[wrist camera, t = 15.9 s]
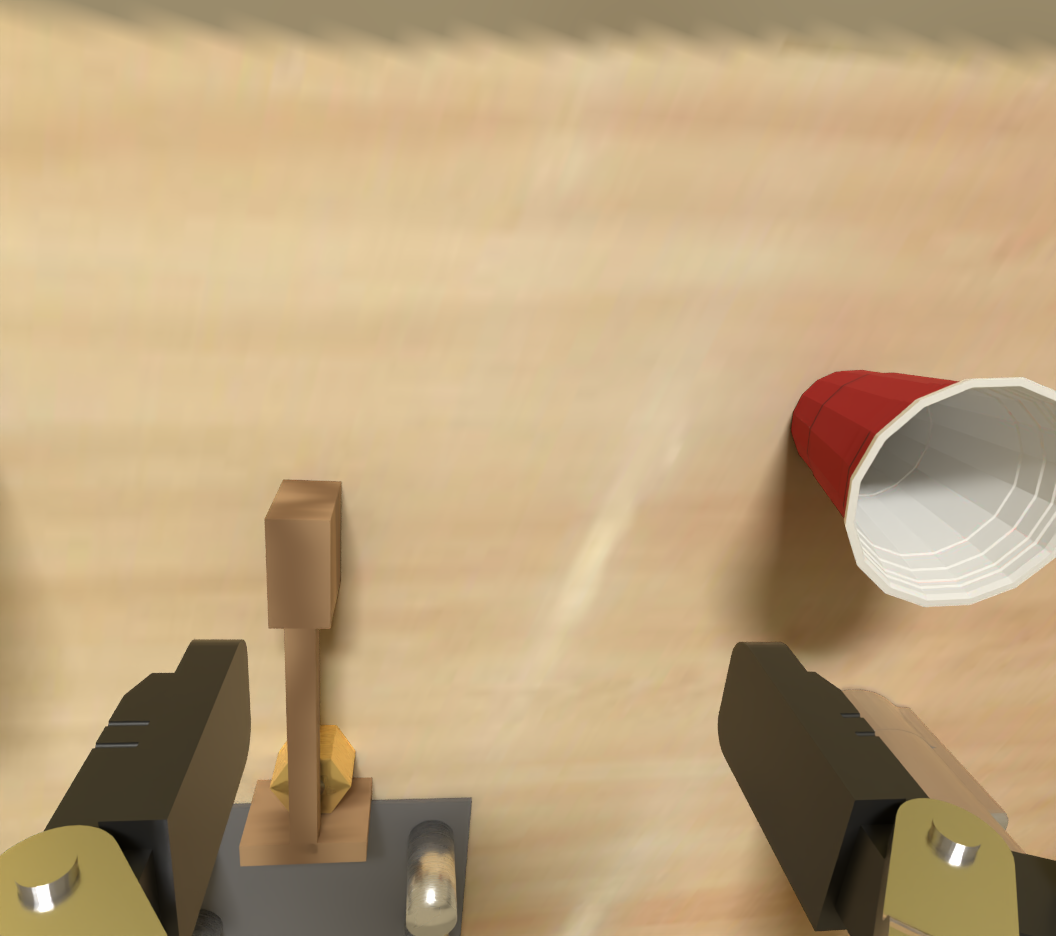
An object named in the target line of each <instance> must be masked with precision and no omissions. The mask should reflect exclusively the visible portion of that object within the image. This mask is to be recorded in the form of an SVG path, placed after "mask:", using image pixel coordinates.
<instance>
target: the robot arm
mask: <svg viewBox="0 0 1056 936" xmlns="http://www.w3.org/2000/svg"><path fill="white" fill-rule="evenodd" d="M250 732H251V715H250V695H249V676H248V656H247V646H246V643H245V641H244V640H192V642H191V643H190V644H189V646H188V648H187V650H186V652H185V654H184V656H183V658H182V660H181V662H180V664H179V666H178V667H177V669H176V671H175V673H152V674H150V675H149V676H148V677H146V678H145V679H144V680H143V681H141V682H140V683H139V684H138V685H136V686H135V687H134V688H133V689H131V690H130V691H129V692H128V693H126V694H125V695H124V696H123V698H122V700H121V701H120V703H119V705H118V706H117V708H116V710H115V711H114V713H113V715H112V717H111V718H110V720H109V724H108V726H106V727H105V728H104V730H103V732H102V733H101V735H100V737H99V739H98V740H97V742H96V747H95V749H92V750H91V752H90V754H89V755H88V757H87V759H86V761H85V762H84V764H83V766H82V767H81V769H80V771H79V772H78V774H77V776H76V777H75V779H74V781H73V782H72V784H71V786H70V788H69V789H68V791H67V793H66V794H65V796H64V798H63V799H62V801H61V803H60V804H59V806H58V808H57V810H56V811H55V813H54V815H53V816H52V818H51V820H50V821H49V823H48V825H47V826H46V828H45V830H44V831H43V832H41V833H38V834H36V835H33V836H31V837H29V838H27V839H25V840H23V841H21V842H19V843H17V844H16V845H14V846H13V847H11V848H9V849H8V850H6V851H5V852H4V853H3V854H1V855H0V936H192V934H193V931H194V928H195V925H196V921H197V918H198V915H199V912H200V908H201V905H202V902H203V899H204V896H205V892H206V889H207V886H208V883H209V880H210V876H211V873H212V870H213V867H214V864H215V860H216V857H217V854H218V851H219V848H220V844H221V841H222V838H223V835H224V832H225V828H226V825H227V822H228V819H229V816H230V812H231V809H232V806H233V803H234V800H235V796H236V793H237V790H238V787H239V784H240V780H241V777H242V774H243V771H244V768H245V764H246V760H247V756H248V750H249V743H250ZM718 736H719V742H720V746H721V750H722V753H723V755H724V757H725V759H726V761H727V763H728V765H729V767H730V769H731V771H732V772H733V774H734V776H735V778H736V780H737V782H738V784H739V786H740V788H741V790H742V792H743V794H744V796H745V797H746V799H747V801H748V803H749V805H750V807H751V809H752V811H753V813H754V815H755V817H756V819H757V821H758V822H759V824H760V826H761V828H762V830H763V832H764V834H765V836H766V838H767V840H768V842H769V844H770V846H771V847H772V849H773V851H774V853H775V855H776V857H777V859H778V861H779V863H780V865H781V867H782V869H783V871H784V872H785V874H786V876H787V878H788V880H789V882H790V884H791V886H792V888H793V890H794V892H795V894H796V896H797V897H798V899H799V901H800V903H801V905H802V907H803V909H804V911H805V913H806V915H807V917H808V919H809V921H810V922H811V924H812V926H813V928H814V930H815V931H829V930H845V929H847V931H848V933H849V934H850V936H1056V861H1054V860H1050V859H1045V858H1041V857H1037V856H1032V855H1028V854H1026V853H1025V852H1024V851H1023V850H1022V849H1021V848H1020V846H1019V845H1018V844H1017V843H1016V842H1015V841H1014V840H1013V839H1012V838H1011V836H1010V835H1009V834H1008V833H1007V832H1006V831H1005V830H1006V828H1007V825H1008V817H1007V814H1006V813H1005V811H1004V810H1003V809H1002V808H1001V807H1000V806H999V805H998V803H997V802H996V801H995V800H994V799H993V798H992V797H991V796H990V795H989V794H988V793H987V792H986V790H985V789H984V788H983V787H982V786H981V785H980V784H979V783H978V782H977V781H976V780H975V779H974V777H973V776H972V775H971V774H970V773H969V772H968V771H967V770H966V769H965V768H964V767H963V765H962V764H961V763H960V762H959V761H958V760H957V759H956V758H955V757H954V756H953V755H952V754H951V752H950V751H949V750H948V749H947V748H946V747H945V746H944V745H943V744H942V743H941V742H940V741H939V739H938V738H937V737H936V736H935V735H934V734H933V733H932V732H931V731H930V730H929V729H928V728H927V726H926V725H925V724H924V723H923V722H922V721H921V720H920V719H919V718H918V717H917V716H916V715H915V713H914V712H913V711H912V710H911V709H910V708H908V707H902V708H901V707H896V706H895V705H893V704H892V703H891V702H890V701H888V700H887V699H886V698H885V697H883V696H881V695H879V694H877V693H875V692H870V691H866V690H844V691H841V690H840V689H838V688H837V687H836V686H834V685H833V684H831V683H830V682H828V681H827V680H826V679H824V678H823V677H821V676H820V675H819V674H817V673H816V672H807V671H806V669H805V668H804V667H803V665H802V664H801V663H800V662H799V660H798V659H797V658H796V656H795V655H794V654H793V653H792V651H791V650H790V649H789V647H788V646H787V645H786V644H784V643H782V642H739V643H737V644H736V645H735V647H734V649H733V651H732V655H731V660H730V664H729V669H728V674H727V678H726V683H725V688H724V692H723V697H722V702H721V706H720V711H719V717H718Z"/></svg>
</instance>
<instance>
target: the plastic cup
mask: <svg viewBox="0 0 1056 936" xmlns="http://www.w3.org/2000/svg"><path fill="white" fill-rule="evenodd" d="M791 432H792V436H793V439H794V442H795V445H796V448H797V450H798V454H799V455H800V456H801V457H802V459H803V460H804V461H805V462H806V464H807V465H808V466H809V467H810V469H811V470H812V472H813V476H814V477H815V478H816V480H817V481H818V483H819V484H820V485H821V487H822V488H823V490H824V491H825V492H826V494H827V495H828V497H829V498H830V499H831V501H832V502H833V504H834V505H835V506H836V508H837V509H838V511H839V512H840V513H841V515H842V516H843V518H844V524H845V527H846V531H847V534H848V537H849V541H850V544H851V547H852V550H853V554H854V557H855V560H856V564H857V566H858V567H859V568H860V569H861V570H862V571H863V572H864V573H865V574H866V575H867V576H868V577H869V578H870V579H871V580H872V581H873V582H874V583H875V584H876V585H877V586H878V587H879V588H880V589H881V590H882V591H883V592H884V593H885V594H888V595H891V596H894V597H897V598H900V599H903V600H906V601H909V602H912V603H914V604H917V605H920V606H923V607H934V606H957V605H971V604H974V603H976V602H979V601H982V600H984V599H987V598H990V597H992V596H995V595H998V594H1000V593H1003V592H1006V591H1008V590H1011V589H1014V588H1016V587H1017V586H1019V585H1020V584H1021V583H1023V582H1024V581H1025V580H1027V579H1028V578H1029V577H1031V576H1032V575H1033V574H1035V573H1036V572H1037V571H1039V570H1040V569H1041V568H1042V567H1044V566H1045V565H1046V564H1048V563H1049V562H1050V561H1052V560H1053V559H1054V558H1056V391H1055V390H1052V389H1050V388H1047V387H1045V386H1043V385H1040V384H1038V383H1036V382H1033V381H1031V380H1029V379H1026V378H1024V377H1011V378H982V379H964V380H962V381H951V380H944V379H936V378H929V377H922V376H914V375H907V374H899V373H878V372H872V371H865V370H853V371H841V372H834V373H832V374H830V375H828V376H825V377H823V378H821V379H819V380H817V381H816V382H815V383H814V384H813V385H812V386H811V387H810V388H809V389H808V390H806V391H805V392H804V393H803V394H802V396H801V398H800V400H799V402H798V404H797V406H796V408H795V410H794V412H793V418H792V427H791Z"/></svg>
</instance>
